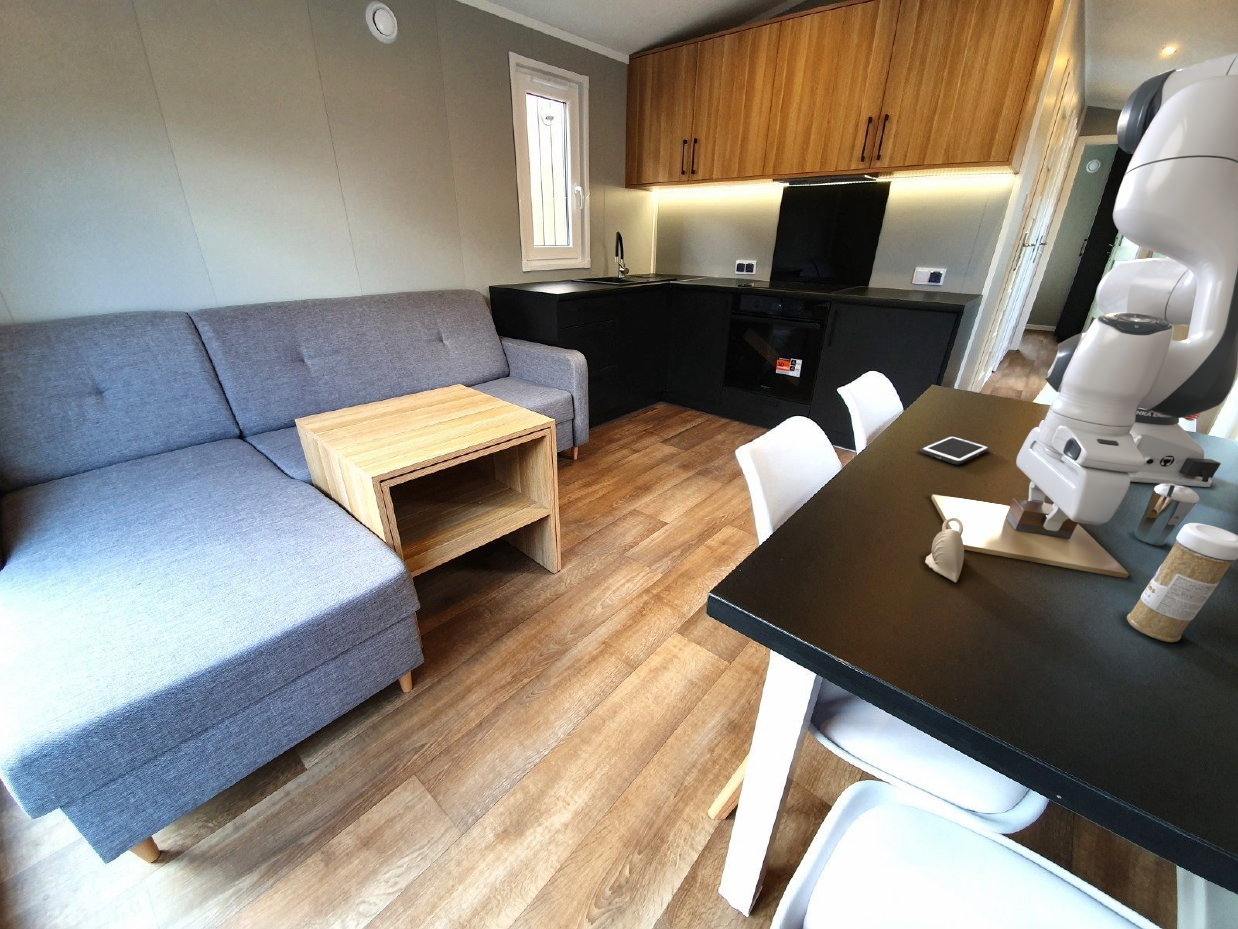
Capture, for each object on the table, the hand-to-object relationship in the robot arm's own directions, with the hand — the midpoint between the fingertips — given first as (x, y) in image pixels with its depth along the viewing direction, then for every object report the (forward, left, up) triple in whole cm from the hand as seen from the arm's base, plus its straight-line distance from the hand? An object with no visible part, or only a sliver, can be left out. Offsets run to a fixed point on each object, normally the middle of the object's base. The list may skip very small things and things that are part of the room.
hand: (1040, 519), depth 74 cm
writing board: (+3, +1, -3) cm, 4 cm away
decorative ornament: (+16, +14, -3) cm, 21 cm away
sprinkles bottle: (-4, +20, -3) cm, 21 cm away
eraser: (0, 0, -2) cm, 2 cm away
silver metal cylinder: (-16, -4, -3) cm, 17 cm away
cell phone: (+3, -32, -3) cm, 32 cm away
